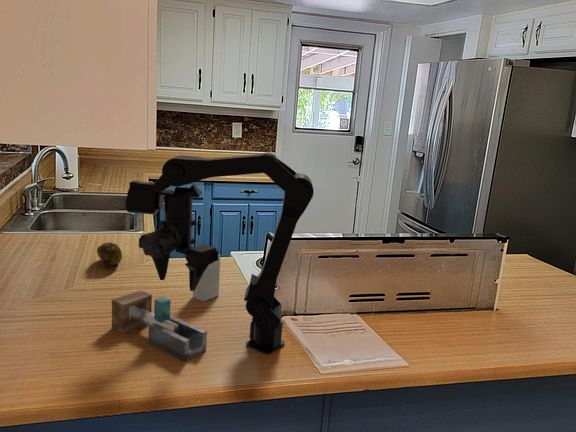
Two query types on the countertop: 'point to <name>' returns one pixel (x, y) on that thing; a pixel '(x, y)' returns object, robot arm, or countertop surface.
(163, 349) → the channel
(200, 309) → the countertop surface
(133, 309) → the rod
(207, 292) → the skincare box
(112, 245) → the potato
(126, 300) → the socket block
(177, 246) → the robot arm
